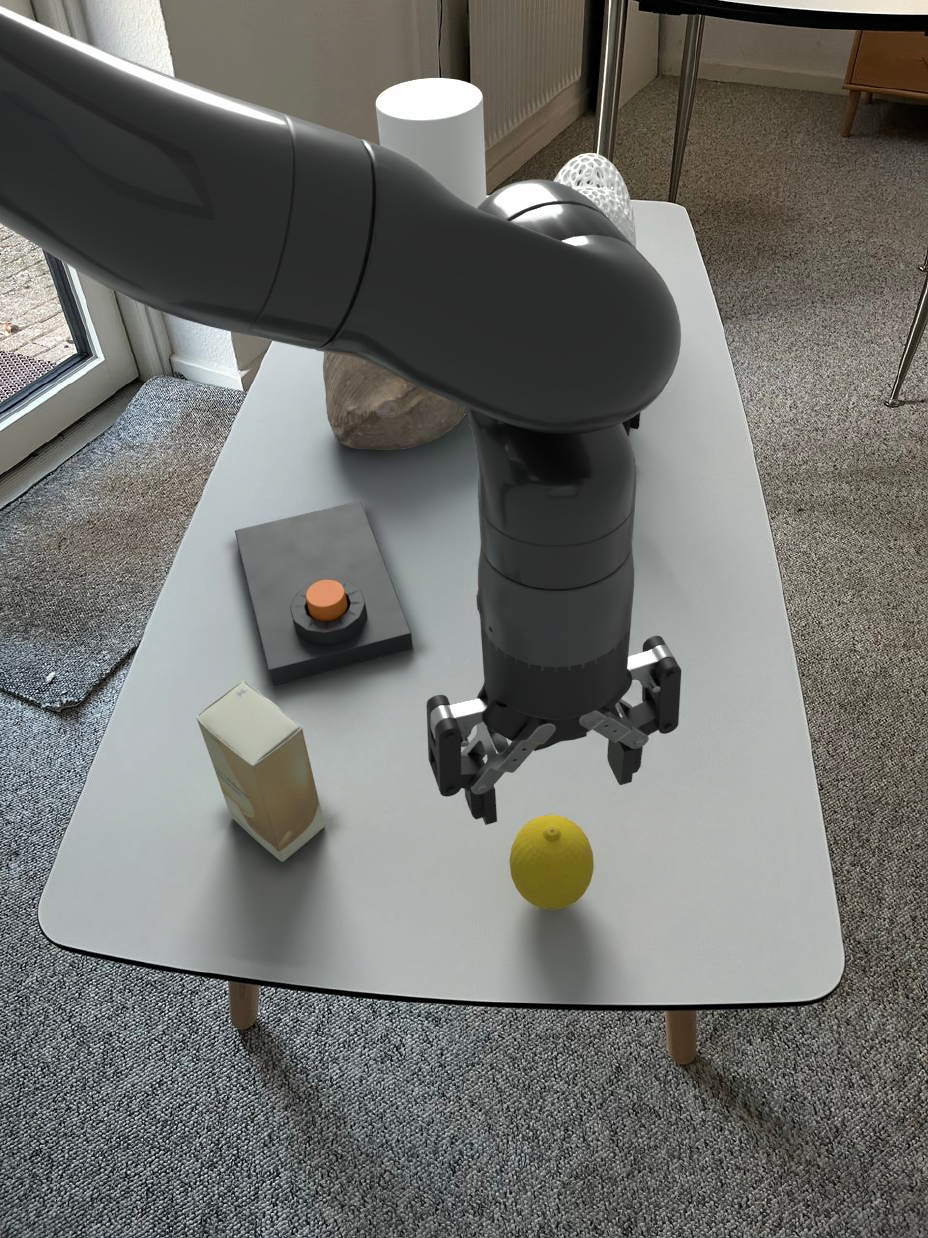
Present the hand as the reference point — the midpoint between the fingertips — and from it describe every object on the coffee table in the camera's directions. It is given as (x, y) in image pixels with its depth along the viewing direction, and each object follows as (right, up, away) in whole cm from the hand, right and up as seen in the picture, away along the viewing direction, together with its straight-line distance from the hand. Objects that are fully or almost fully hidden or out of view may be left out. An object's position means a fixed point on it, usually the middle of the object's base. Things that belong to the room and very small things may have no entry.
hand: (553, 791), depth 65 cm
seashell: (-11, +31, +47) cm, 58 cm away
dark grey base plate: (-18, +13, +30) cm, 37 cm away
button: (-17, +11, +25) cm, 32 cm away
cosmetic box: (-19, -5, +14) cm, 24 cm away
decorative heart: (+8, +45, +59) cm, 74 cm away
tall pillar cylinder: (-8, +45, +60) cm, 75 cm away
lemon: (+1, -9, +9) cm, 13 cm away
